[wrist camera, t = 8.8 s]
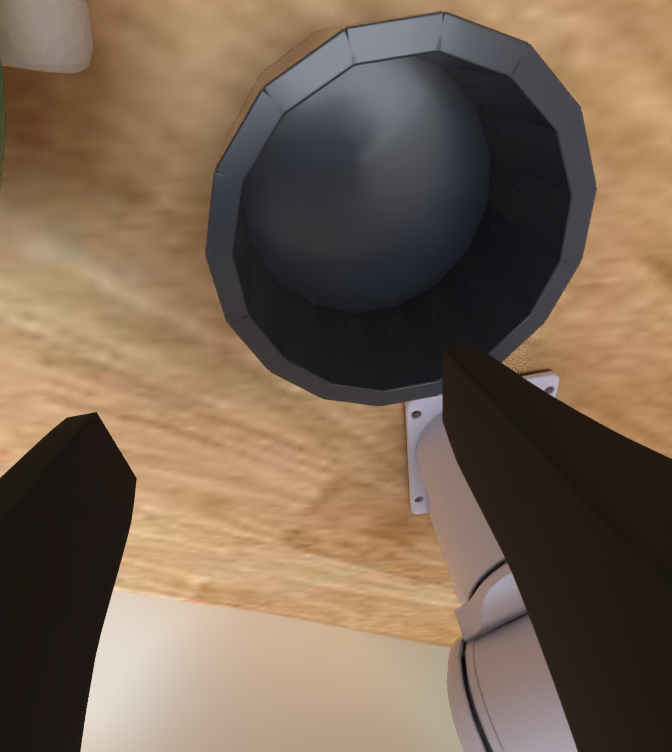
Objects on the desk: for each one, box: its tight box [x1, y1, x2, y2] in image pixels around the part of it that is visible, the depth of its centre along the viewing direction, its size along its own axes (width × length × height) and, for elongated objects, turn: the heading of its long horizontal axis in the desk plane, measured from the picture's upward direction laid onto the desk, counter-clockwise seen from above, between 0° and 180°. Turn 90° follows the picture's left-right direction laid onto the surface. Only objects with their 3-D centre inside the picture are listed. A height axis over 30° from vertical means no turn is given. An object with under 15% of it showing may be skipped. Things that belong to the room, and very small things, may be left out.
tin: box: [205, 11, 597, 406], centre depth 15 cm, size 11×11×6 cm
